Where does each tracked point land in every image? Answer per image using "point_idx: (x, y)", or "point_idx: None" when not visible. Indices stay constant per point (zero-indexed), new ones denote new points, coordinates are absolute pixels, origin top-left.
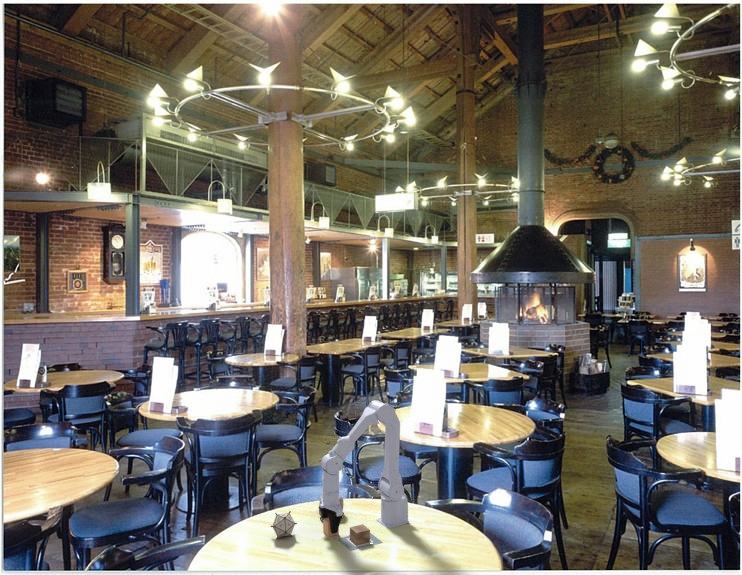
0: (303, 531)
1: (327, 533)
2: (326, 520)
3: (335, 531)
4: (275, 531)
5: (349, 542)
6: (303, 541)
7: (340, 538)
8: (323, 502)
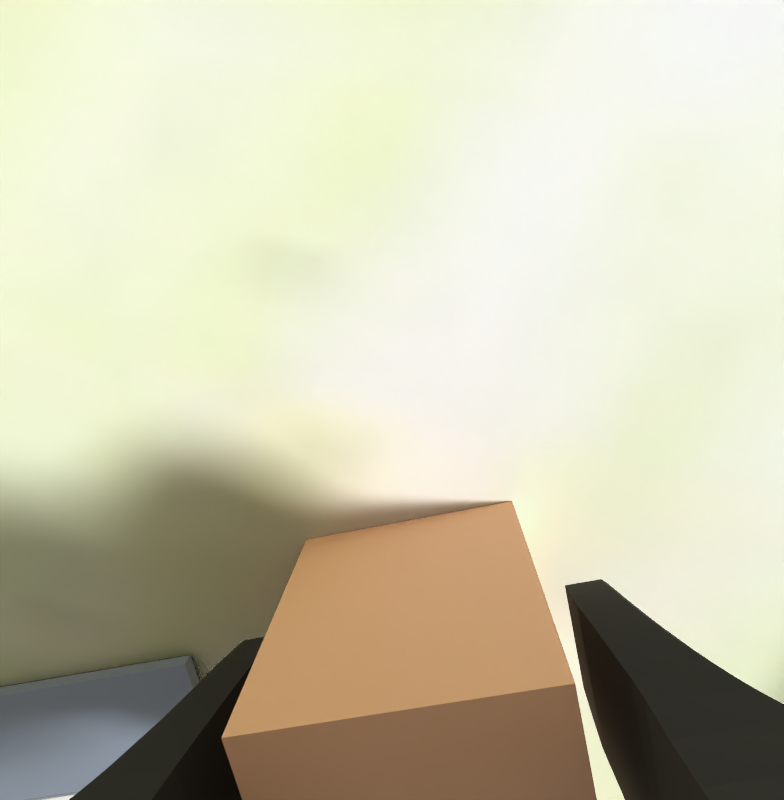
0: (732, 129)
1: (323, 564)
2: (410, 735)
3: None
4: None
5: (19, 789)
6: (250, 52)
7: None
8: None
